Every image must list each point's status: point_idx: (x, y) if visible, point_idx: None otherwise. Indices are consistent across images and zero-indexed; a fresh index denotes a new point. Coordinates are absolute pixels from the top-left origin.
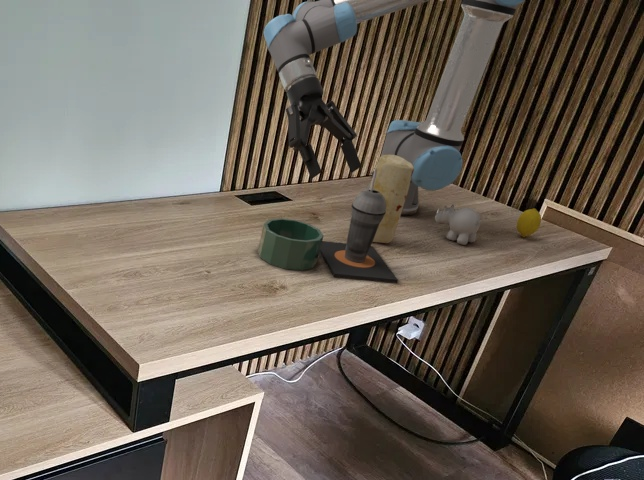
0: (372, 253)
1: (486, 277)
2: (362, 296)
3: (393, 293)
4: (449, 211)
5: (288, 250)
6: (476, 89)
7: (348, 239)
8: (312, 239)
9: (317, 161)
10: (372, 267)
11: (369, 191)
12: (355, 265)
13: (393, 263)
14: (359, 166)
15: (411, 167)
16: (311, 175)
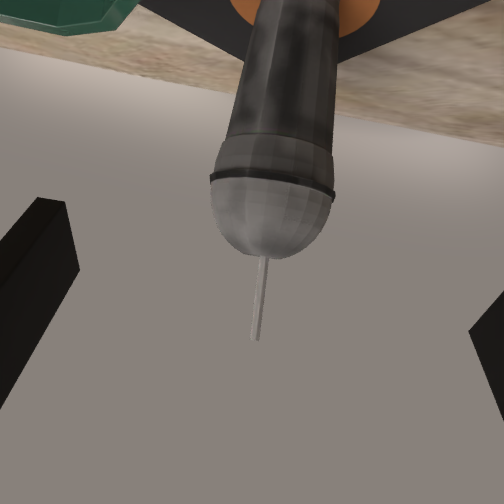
0: (420, 11)
1: (499, 145)
2: (144, 55)
3: (230, 81)
4: None
5: None
6: None
7: (250, 50)
8: (34, 23)
9: (41, 332)
10: None
11: (243, 252)
12: (250, 15)
13: (420, 47)
14: (469, 332)
15: None
16: (33, 217)
